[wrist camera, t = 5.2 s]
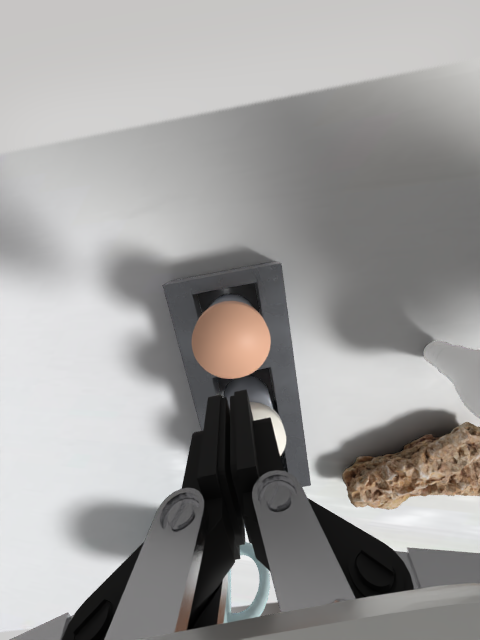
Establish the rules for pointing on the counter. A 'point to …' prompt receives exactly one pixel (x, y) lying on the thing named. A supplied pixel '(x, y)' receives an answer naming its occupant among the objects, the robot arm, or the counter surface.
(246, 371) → the terracotta key
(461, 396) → the lightbulb
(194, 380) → the key panel
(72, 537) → the counter surface
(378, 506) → the rock
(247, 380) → the cream key
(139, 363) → the counter surface
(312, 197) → the counter surface
